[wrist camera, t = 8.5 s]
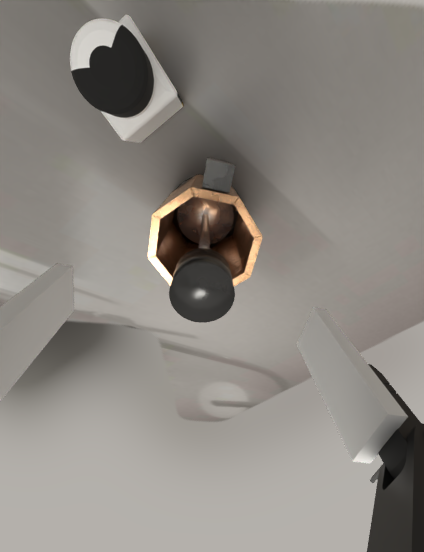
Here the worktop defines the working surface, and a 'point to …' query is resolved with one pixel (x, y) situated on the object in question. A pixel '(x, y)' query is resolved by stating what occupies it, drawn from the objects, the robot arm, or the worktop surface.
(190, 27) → the worktop surface
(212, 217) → the plunger
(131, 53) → the medicine bottle
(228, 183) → the press carafe
